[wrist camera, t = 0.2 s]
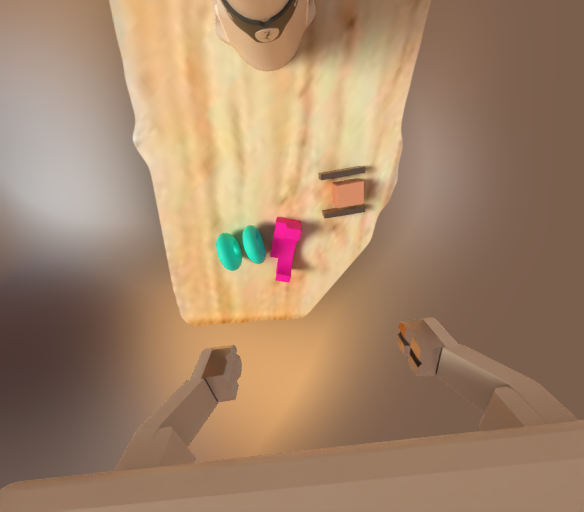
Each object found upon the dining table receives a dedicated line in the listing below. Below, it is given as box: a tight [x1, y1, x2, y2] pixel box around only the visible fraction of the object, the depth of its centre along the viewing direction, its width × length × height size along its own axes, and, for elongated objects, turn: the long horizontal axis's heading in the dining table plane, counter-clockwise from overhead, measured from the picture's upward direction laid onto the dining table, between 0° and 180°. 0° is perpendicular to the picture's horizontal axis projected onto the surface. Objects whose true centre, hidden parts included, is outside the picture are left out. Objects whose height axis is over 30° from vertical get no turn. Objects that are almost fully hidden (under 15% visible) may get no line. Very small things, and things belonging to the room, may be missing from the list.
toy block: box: [270, 217, 302, 282], centre depth 55 cm, size 15×6×8 cm, turn 169°
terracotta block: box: [332, 179, 364, 208], centre depth 50 cm, size 5×6×6 cm
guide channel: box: [319, 166, 365, 218], centre depth 51 cm, size 10×10×4 cm
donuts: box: [216, 225, 266, 271], centre depth 53 cm, size 10×10×10 cm
